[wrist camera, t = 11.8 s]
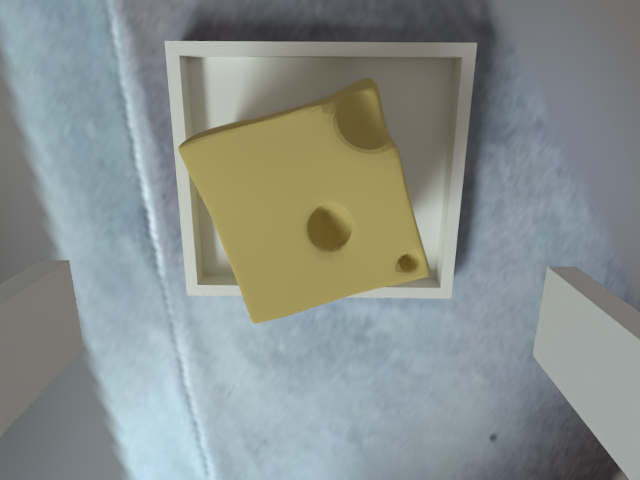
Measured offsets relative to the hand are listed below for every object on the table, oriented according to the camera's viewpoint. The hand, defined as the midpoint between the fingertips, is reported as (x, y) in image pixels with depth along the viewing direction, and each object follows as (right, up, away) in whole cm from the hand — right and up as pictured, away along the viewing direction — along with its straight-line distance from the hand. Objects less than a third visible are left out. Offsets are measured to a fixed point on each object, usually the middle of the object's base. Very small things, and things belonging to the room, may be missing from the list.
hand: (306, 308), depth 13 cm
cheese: (0, +6, +19) cm, 20 cm away
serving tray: (0, +7, +20) cm, 21 cm away
